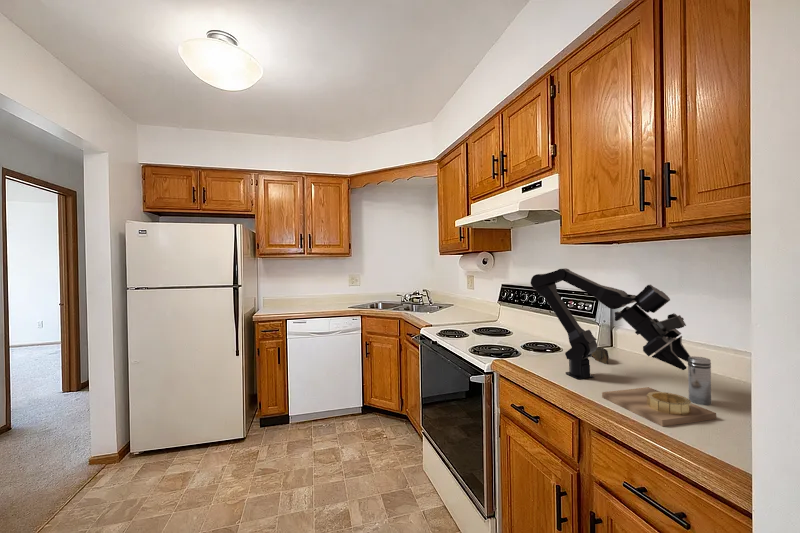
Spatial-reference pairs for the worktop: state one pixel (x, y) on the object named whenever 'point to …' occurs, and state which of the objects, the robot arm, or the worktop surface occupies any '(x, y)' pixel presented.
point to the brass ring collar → (669, 403)
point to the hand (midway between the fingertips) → (688, 365)
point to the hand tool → (601, 355)
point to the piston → (699, 380)
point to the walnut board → (638, 404)
